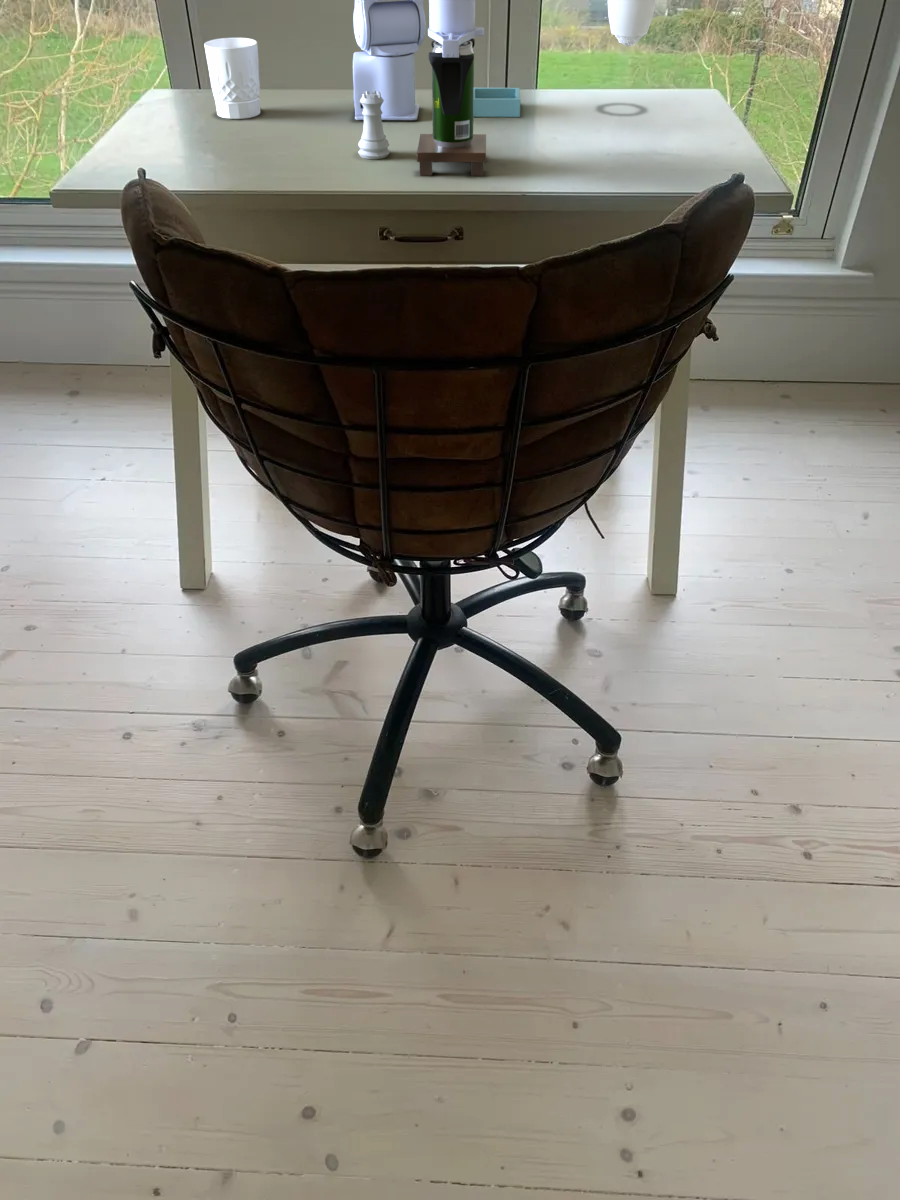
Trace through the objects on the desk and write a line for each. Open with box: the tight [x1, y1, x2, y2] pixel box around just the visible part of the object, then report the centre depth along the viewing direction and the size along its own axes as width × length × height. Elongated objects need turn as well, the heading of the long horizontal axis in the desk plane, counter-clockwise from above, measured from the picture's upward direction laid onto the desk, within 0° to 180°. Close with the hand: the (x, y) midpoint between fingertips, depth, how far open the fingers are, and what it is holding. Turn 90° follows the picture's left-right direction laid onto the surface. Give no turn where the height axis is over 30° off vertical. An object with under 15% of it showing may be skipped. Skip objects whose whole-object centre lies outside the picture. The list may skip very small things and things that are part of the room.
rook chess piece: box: [357, 91, 391, 160], centre depth 144 cm, size 4×4×8 cm
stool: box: [416, 133, 487, 177], centre depth 141 cm, size 9×9×3 cm
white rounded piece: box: [607, 0, 658, 47], centre depth 160 cm, size 7×7×21 cm
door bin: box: [473, 87, 521, 118], centre depth 165 cm, size 8×8×2 cm
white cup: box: [203, 37, 261, 120], centre depth 161 cm, size 8×8×10 cm
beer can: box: [431, 41, 475, 148], centre depth 137 cm, size 5×5×12 cm
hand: (452, 107), depth 138 cm, fingers open, 6 cm apart
